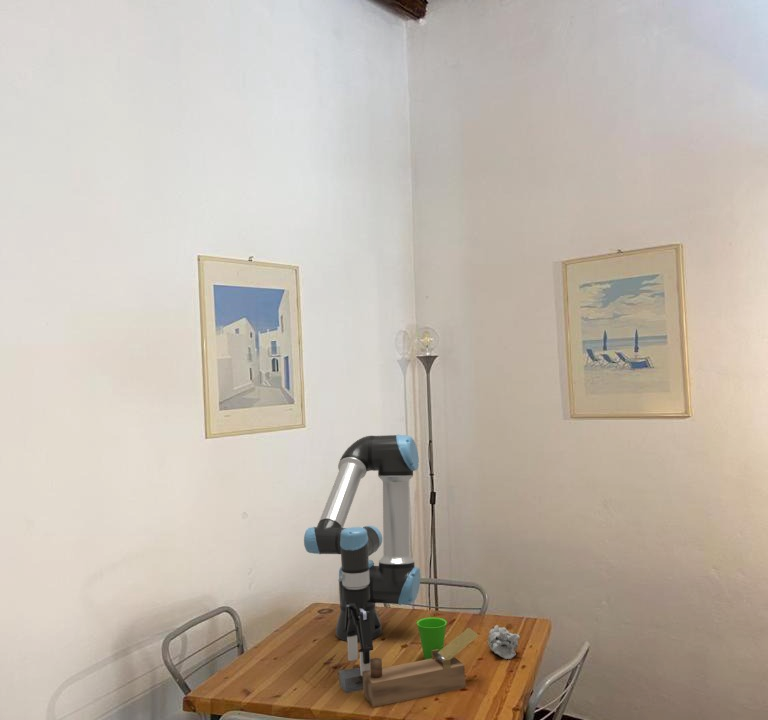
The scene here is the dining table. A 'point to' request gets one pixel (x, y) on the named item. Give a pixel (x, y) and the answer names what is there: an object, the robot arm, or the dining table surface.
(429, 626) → the cup
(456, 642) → the lever
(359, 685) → the lever cap
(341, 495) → the robot arm
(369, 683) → the plane body
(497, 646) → the figurine
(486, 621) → the dining table surface
